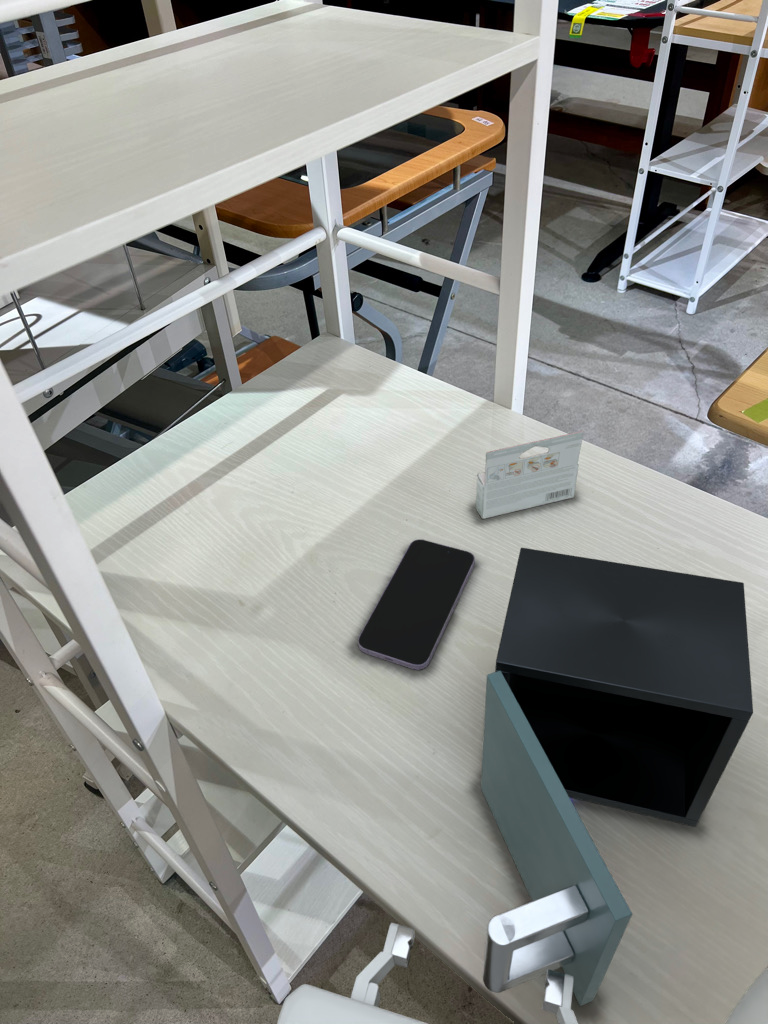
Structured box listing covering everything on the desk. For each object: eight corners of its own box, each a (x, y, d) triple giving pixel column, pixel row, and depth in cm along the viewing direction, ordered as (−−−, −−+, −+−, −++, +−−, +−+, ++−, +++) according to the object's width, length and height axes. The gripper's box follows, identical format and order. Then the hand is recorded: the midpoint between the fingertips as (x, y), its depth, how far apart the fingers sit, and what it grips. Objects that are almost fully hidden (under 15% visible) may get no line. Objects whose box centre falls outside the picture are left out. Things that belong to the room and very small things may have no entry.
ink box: (474, 507, 84) (476, 439, 78) (565, 486, 86) (575, 417, 79) (481, 521, 83) (484, 453, 76) (575, 499, 84) (585, 430, 78)
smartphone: (353, 645, 70) (413, 536, 80) (354, 652, 71) (413, 543, 81) (424, 668, 68) (478, 553, 77) (425, 675, 69) (478, 561, 78)
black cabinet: (695, 827, 57) (753, 713, 46) (487, 778, 61) (495, 661, 50) (694, 705, 64) (744, 582, 54) (509, 668, 68) (520, 546, 57)
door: (498, 1041, 48) (511, 963, 37) (412, 811, 59) (404, 701, 48) (593, 1000, 49) (632, 914, 38) (491, 783, 60) (500, 670, 50)
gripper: (669, 1366, 30) (673, 988, 40) (214, 1180, 35) (315, 884, 45) (642, 1359, 34) (652, 1020, 44) (240, 1195, 40) (327, 922, 49)
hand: (479, 951), depth 44 cm, fingers open, 8 cm apart
